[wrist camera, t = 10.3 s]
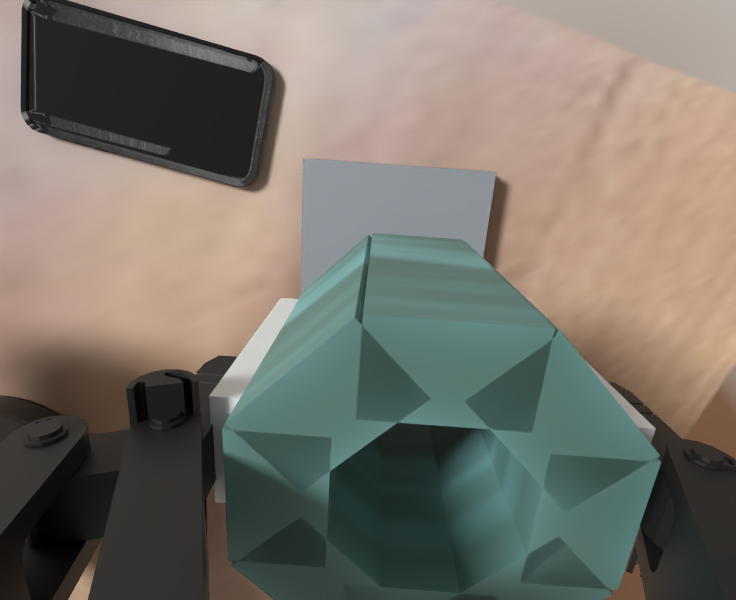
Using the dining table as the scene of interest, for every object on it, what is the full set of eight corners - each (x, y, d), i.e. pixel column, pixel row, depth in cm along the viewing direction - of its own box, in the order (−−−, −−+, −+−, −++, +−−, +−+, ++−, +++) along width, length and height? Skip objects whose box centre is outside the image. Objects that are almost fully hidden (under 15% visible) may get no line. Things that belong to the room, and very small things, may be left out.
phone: (22, -13, 24) (275, 60, 25) (37, -6, 26) (279, 65, 26) (20, 128, 27) (252, 192, 28) (34, 130, 28) (257, 191, 29)
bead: (300, 422, 17) (232, 642, 9) (304, 227, 14) (215, 304, 7) (494, 436, 17) (590, 670, 9) (530, 244, 14) (703, 339, 7)
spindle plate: (303, 328, 31) (243, 462, 17) (306, 158, 28) (234, 155, 14) (464, 340, 31) (534, 482, 17) (490, 171, 28) (604, 180, 14)
